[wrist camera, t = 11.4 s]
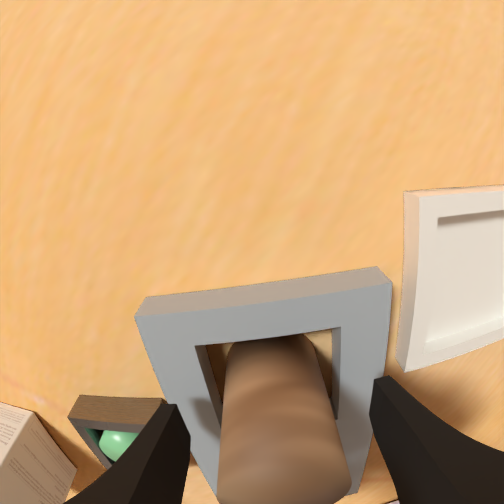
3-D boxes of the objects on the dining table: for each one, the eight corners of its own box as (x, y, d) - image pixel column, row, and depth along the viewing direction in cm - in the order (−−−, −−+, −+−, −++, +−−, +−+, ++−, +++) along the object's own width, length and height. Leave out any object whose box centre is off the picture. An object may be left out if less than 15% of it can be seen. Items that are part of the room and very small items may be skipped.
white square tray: (525, 183, 10) (542, 188, 9) (506, 321, 13) (518, 331, 11) (403, 191, 10) (419, 196, 9) (395, 357, 13) (404, 372, 12)
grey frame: (376, 266, 11) (392, 282, 10) (353, 476, 16) (357, 492, 15) (145, 297, 12) (133, 316, 10) (224, 492, 17) (223, 509, 15)
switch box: (161, 398, 13) (153, 424, 12) (188, 454, 15) (185, 477, 13) (79, 394, 14) (67, 417, 12) (115, 449, 15) (107, 470, 14)
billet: (316, 320, 12) (362, 454, 6) (314, 388, 13) (342, 509, 7) (220, 329, 12) (204, 469, 6) (232, 395, 13) (226, 519, 7)
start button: (149, 413, 14) (140, 439, 12) (167, 446, 15) (161, 470, 13) (100, 410, 14) (89, 434, 12) (121, 443, 15) (113, 465, 13)
